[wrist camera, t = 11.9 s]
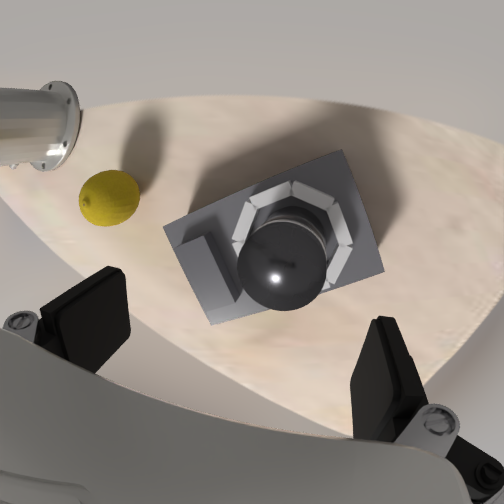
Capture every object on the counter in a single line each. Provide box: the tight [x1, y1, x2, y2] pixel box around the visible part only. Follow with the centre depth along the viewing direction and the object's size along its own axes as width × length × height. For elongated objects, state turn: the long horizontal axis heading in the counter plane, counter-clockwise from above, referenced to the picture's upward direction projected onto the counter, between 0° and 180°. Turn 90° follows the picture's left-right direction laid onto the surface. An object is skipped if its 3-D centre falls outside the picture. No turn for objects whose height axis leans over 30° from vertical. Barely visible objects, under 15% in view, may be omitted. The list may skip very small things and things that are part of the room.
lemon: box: [79, 170, 140, 226], centre depth 27 cm, size 6×6×8 cm
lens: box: [237, 206, 327, 311], centre depth 20 cm, size 5×5×7 cm
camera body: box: [163, 149, 385, 325], centre depth 25 cm, size 16×10×6 cm, turn 114°
